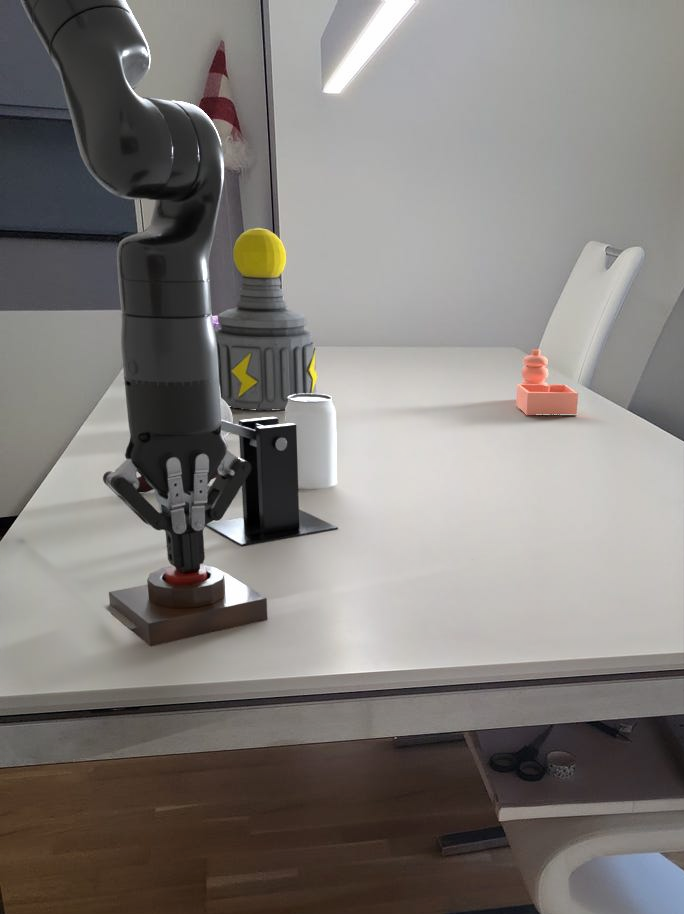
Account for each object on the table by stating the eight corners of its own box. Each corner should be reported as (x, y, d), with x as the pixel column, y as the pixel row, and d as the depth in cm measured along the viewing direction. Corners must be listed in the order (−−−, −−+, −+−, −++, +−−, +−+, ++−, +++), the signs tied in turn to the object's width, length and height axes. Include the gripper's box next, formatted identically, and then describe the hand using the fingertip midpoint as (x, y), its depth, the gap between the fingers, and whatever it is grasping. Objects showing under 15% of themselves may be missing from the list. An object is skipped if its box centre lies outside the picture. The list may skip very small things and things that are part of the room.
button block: (150, 647, 87) (146, 603, 85) (110, 614, 93) (106, 572, 92) (267, 620, 93) (266, 579, 92) (223, 591, 100) (220, 552, 98)
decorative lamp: (330, 397, 198) (327, 229, 186) (297, 415, 181) (292, 231, 169) (237, 390, 201) (228, 224, 189) (196, 407, 184) (184, 226, 172)
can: (317, 480, 140) (315, 391, 135) (347, 491, 136) (346, 398, 131) (277, 488, 136) (273, 395, 131) (306, 498, 131) (304, 403, 127)
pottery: (576, 416, 190) (580, 361, 186) (526, 415, 189) (529, 360, 185) (552, 398, 206) (556, 348, 203) (506, 398, 205) (509, 347, 201)
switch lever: (186, 428, 103) (193, 405, 103) (162, 418, 107) (168, 395, 107) (289, 458, 111) (295, 436, 111) (262, 447, 116) (268, 426, 115)
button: (176, 598, 90) (174, 579, 89) (159, 586, 92) (158, 568, 92) (214, 590, 92) (213, 572, 91) (197, 579, 95) (196, 561, 94)
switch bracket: (241, 555, 110) (235, 435, 105) (204, 533, 116) (197, 420, 111) (338, 537, 117) (336, 424, 112) (298, 518, 123) (295, 410, 118)
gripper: (225, 360, 91) (236, 546, 98) (74, 369, 84) (97, 571, 90) (266, 372, 86) (274, 568, 93) (109, 383, 78) (130, 597, 85)
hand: (186, 569), depth 92 cm, fingers closed
